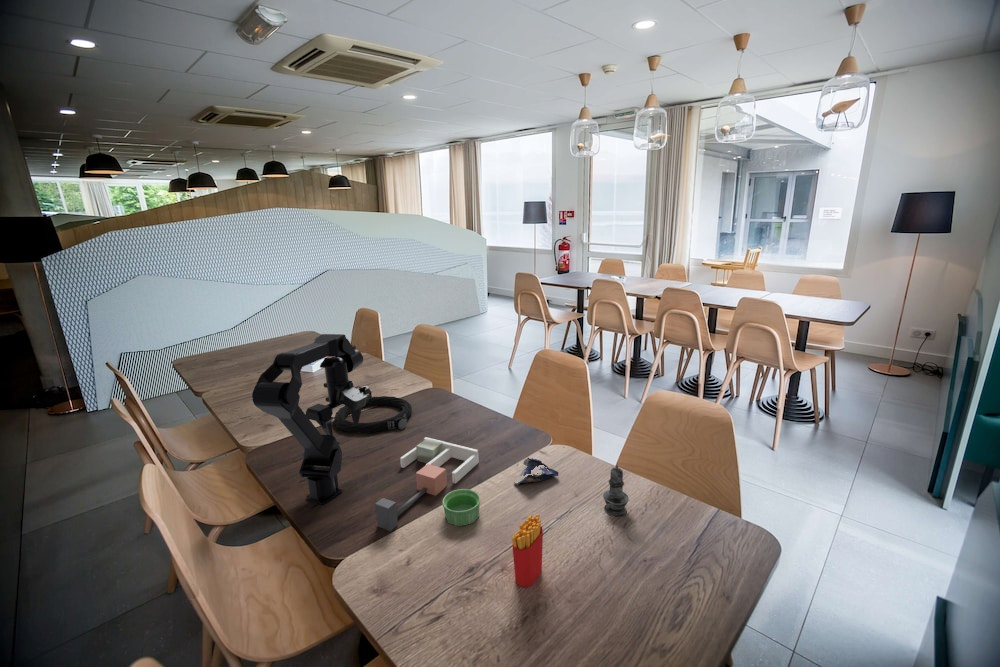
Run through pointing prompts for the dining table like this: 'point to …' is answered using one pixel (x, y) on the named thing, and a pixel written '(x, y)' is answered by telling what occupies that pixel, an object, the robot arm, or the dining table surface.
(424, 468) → the tethered block
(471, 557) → the dining table surface
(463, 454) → the lane rack
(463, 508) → the ramekin
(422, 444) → the sage block
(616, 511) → the dark chess piece
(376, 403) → the cable lock
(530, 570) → the french fries
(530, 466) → the snack package
